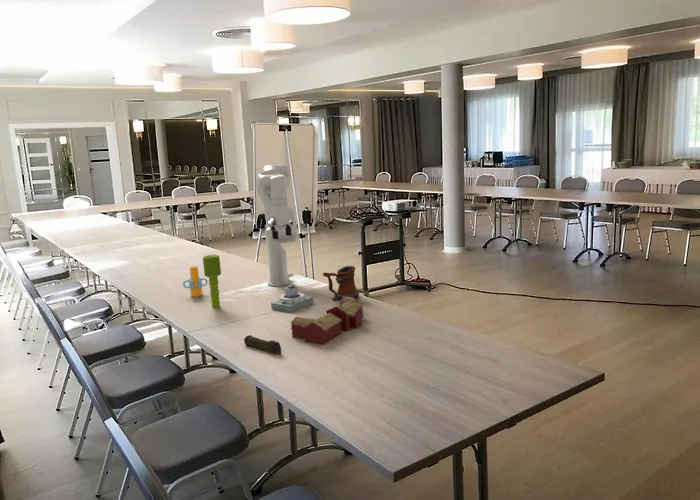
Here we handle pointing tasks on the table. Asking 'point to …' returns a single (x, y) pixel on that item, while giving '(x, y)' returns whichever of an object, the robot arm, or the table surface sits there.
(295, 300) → the block
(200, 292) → the cylinder
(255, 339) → the brown elongated bar
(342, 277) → the mug
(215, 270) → the microphone
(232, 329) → the table surface
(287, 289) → the hub
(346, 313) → the toy houses
